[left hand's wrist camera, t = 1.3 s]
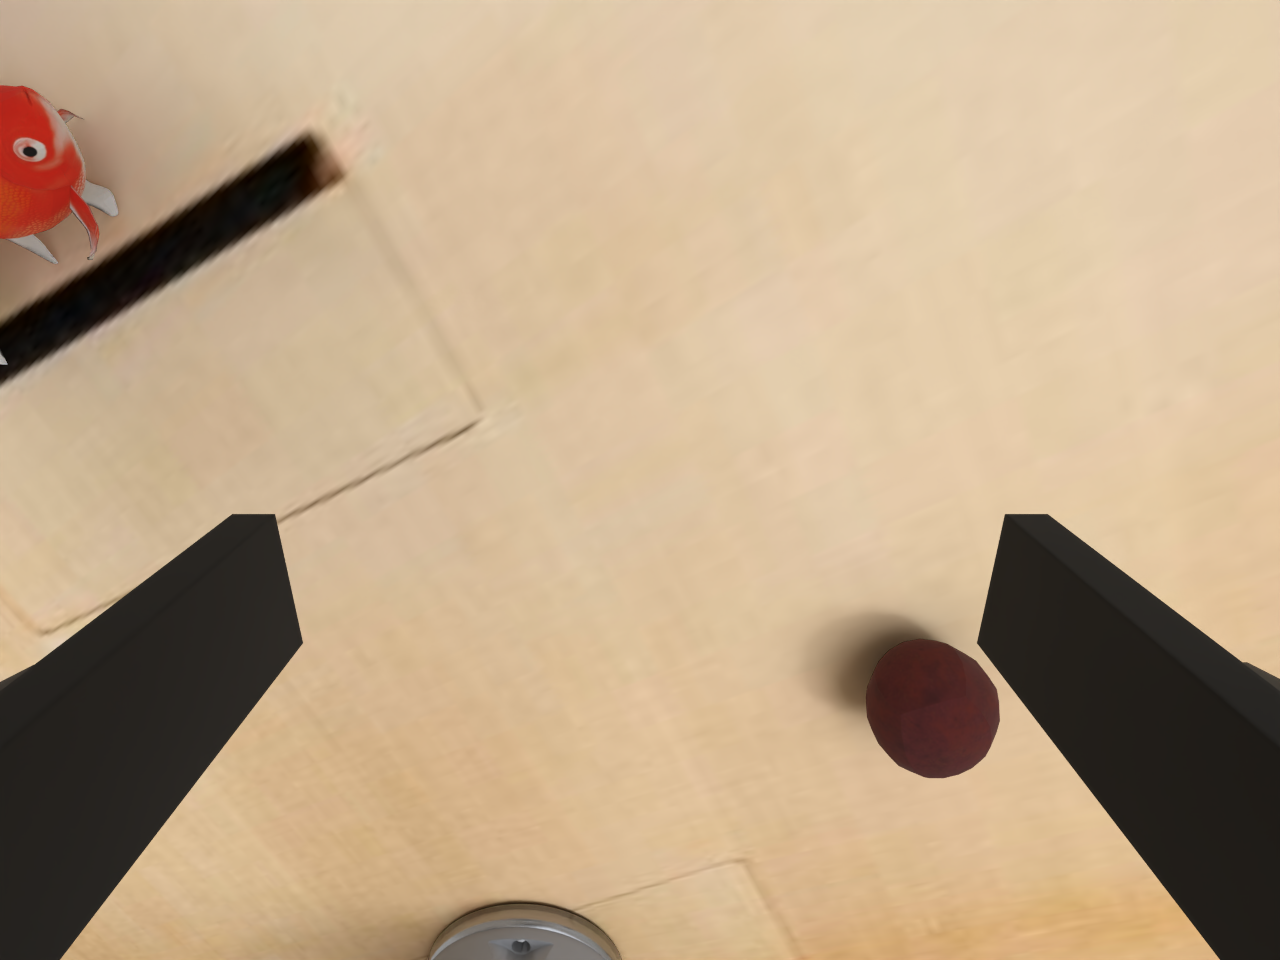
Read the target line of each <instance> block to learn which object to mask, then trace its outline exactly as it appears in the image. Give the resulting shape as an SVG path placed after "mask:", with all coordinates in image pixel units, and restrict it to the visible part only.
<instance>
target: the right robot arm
mask: <svg viewBox="0 0 1280 960" xmlns="http://www.w3.org/2000/svg"><path fill="white" fill-rule="evenodd" d="M428 960H622V959H621V956H620V954H619V952H618V950H617V948H616V947H615V945H614V944H613V942H612V941H611V940H610V939H609V937H608V936H607V935H606V934H605V933H604V932H602V931H601V930H600V929H599V928H597V927H596V926H595V925H593V924H592V923H590V922H588V921H587V920H585V919H583V918H581V917H579V916H577V915H575V914H572V913H569V912H567V911H564V910H560V909H557V908H553V907H548V906H542V905H534V904H506V905H499V906H493V907H488V908H484V909H481V910H478V911H475V912H473V913H470V914H468V915H466V916H464V917H462V918H460V919H458V920H457V921H455V922H454V923H452V924H451V925H450V926H448V927H447V928H446V929H445V930H444V931H443V932H442V933H441V934H440V935H439V937H438V938H437V940H436V941H435V943H434V944H433V947H432V949H431V952H430V955H429V959H428Z"/></svg>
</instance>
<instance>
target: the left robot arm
mask: <svg viewBox="0 0 1280 960" xmlns="http://www.w3.org/2000/svg"><path fill="white" fill-rule="evenodd" d="M302 644H303V641H302V637H301V632H300V627H299V623H298V618H297V613H296V609H295V604H294V600H293V595H292V590H291V586H290V581H289V577H288V572H287V567H286V563H285V558H284V554H283V549H282V544H281V540H280V535H279V531H278V526H277V521H276V517H275V514H232V515H231V516H229V517H228V518H227V519H225V520H224V521H223V522H222V523H220V524H219V525H218V526H216V527H215V528H214V529H212V530H211V531H210V532H208V533H207V534H206V535H204V536H203V537H202V538H200V539H199V540H198V541H197V542H195V543H194V544H193V545H191V546H190V547H189V548H187V549H186V550H185V551H183V552H182V553H181V554H179V555H178V556H177V557H176V558H174V559H173V560H172V561H170V562H169V563H168V564H166V565H165V566H164V567H162V568H161V569H160V570H158V571H157V572H156V573H155V574H153V575H152V576H151V577H149V578H148V579H147V580H145V581H144V582H143V583H141V584H140V585H139V586H137V587H136V588H135V589H133V590H132V591H131V592H130V593H128V594H127V595H126V596H124V597H123V598H122V599H120V600H119V601H118V602H116V603H115V604H114V605H112V606H111V607H110V608H109V609H107V610H106V611H105V612H103V613H102V614H101V615H99V616H98V617H97V618H95V619H94V620H93V621H91V622H90V623H89V624H88V625H86V626H85V627H84V628H82V629H81V630H80V631H78V632H77V633H76V634H74V635H73V636H72V637H70V638H69V639H68V640H66V641H65V642H64V643H63V644H61V645H60V646H59V647H57V648H56V649H55V650H53V651H52V652H51V653H49V654H48V655H47V656H45V657H44V658H43V659H42V660H40V661H39V662H38V663H36V664H35V665H33V666H31V667H29V668H27V669H25V670H23V671H21V672H19V673H17V674H15V675H13V676H11V677H9V678H7V679H5V680H3V681H1V682H0V960H60V959H61V958H62V956H63V955H64V954H65V952H66V951H67V950H68V948H69V947H70V946H71V945H72V943H73V942H74V941H75V939H76V938H77V937H78V935H79V934H80V933H81V932H82V930H83V929H84V928H85V926H86V925H87V924H88V922H89V921H90V920H91V918H92V917H93V916H94V915H95V913H96V912H97V911H98V909H99V908H100V907H101V905H102V904H103V903H104V902H105V900H106V899H107V898H108V896H109V895H110V894H111V892H112V891H113V890H114V889H115V887H116V886H117V885H118V883H119V882H120V881H121V879H122V878H123V877H124V875H125V874H126V873H127V872H128V870H129V869H130V868H131V866H132V865H133V864H134V862H135V861H136V860H137V859H138V857H139V856H140V855H141V853H142V852H143V851H144V849H145V848H146V847H147V846H148V844H149V843H150V842H151V840H152V839H153V838H154V836H155V835H156V834H157V832H158V831H159V830H160V829H161V827H162V826H163V825H164V823H165V822H166V821H167V819H168V818H169V817H170V816H171V814H172V813H173V812H174V810H175V809H176V808H177V806H178V805H179V804H180V803H181V801H182V800H183V799H184V797H185V796H186V795H187V793H188V792H189V791H190V790H191V788H192V787H193V786H194V784H195V783H196V782H197V780H198V779H199V778H200V776H201V775H202V774H203V773H204V771H205V770H206V769H207V767H208V766H209V765H210V763H211V762H212V761H213V760H214V758H215V757H216V756H217V754H218V753H219V752H220V750H221V749H222V748H223V747H224V745H225V744H226V743H227V741H228V740H229V739H230V737H231V736H232V735H233V733H234V732H235V731H236V730H237V728H238V727H239V726H240V724H241V723H242V722H243V720H244V719H245V718H246V717H247V715H248V714H249V713H250V711H251V710H252V709H253V707H254V706H255V705H256V704H257V702H258V701H259V700H260V698H261V697H262V696H263V694H264V693H265V692H266V691H267V689H268V688H269V687H270V685H271V684H272V683H273V681H274V680H275V679H276V677H277V676H278V675H279V674H280V672H281V671H282V670H283V668H284V667H285V666H286V664H287V663H288V662H289V661H290V659H291V658H292V657H293V655H294V654H295V653H296V651H297V650H298V649H299V648H300V646H301V645H302ZM977 644H978V645H979V646H980V648H981V649H982V650H983V651H984V653H985V654H986V655H987V657H988V658H989V659H990V661H991V662H992V663H993V664H994V666H995V667H996V668H997V670H998V671H999V672H1000V674H1001V675H1002V676H1003V677H1004V679H1005V680H1006V681H1007V683H1008V684H1009V685H1010V687H1011V688H1012V689H1013V691H1014V692H1015V693H1016V694H1017V696H1018V697H1019V698H1020V700H1021V701H1022V702H1023V704H1024V705H1025V706H1026V707H1027V709H1028V710H1029V711H1030V713H1031V714H1032V715H1033V717H1034V718H1035V719H1036V720H1037V722H1038V723H1039V724H1040V726H1041V727H1042V728H1043V730H1044V731H1045V732H1046V733H1047V735H1048V736H1049V737H1050V739H1051V740H1052V741H1053V743H1054V744H1055V745H1056V747H1057V748H1058V749H1059V750H1060V752H1061V753H1062V754H1063V756H1064V757H1065V758H1066V760H1067V761H1068V762H1069V763H1070V765H1071V766H1072V767H1073V769H1074V770H1075V771H1076V773H1077V774H1078V775H1079V776H1080V778H1081V779H1082V780H1083V782H1084V783H1085V784H1086V786H1087V787H1088V788H1089V790H1090V791H1091V792H1092V793H1093V795H1094V796H1095V797H1096V799H1097V800H1098V801H1099V803H1100V804H1101V805H1102V806H1103V808H1104V809H1105V810H1106V812H1107V813H1108V814H1109V816H1110V817H1111V818H1112V819H1113V821H1114V822H1115V823H1116V825H1117V826H1118V827H1119V829H1120V830H1121V831H1122V832H1123V834H1124V835H1125V836H1126V838H1127V839H1128V840H1129V842H1130V843H1131V844H1132V846H1133V847H1134V848H1135V849H1136V851H1137V852H1138V853H1139V855H1140V856H1141V857H1142V859H1143V860H1144V861H1145V862H1146V864H1147V865H1148V866H1149V868H1150V869H1151V870H1152V872H1153V873H1154V874H1155V875H1156V877H1157V878H1158V879H1159V881H1160V882H1161V883H1162V885H1163V886H1164V887H1165V889H1166V890H1167V891H1168V892H1169V894H1170V895H1171V896H1172V898H1173V899H1174V900H1175V902H1176V903H1177V904H1178V905H1179V907H1180V908H1181V909H1182V911H1183V912H1184V913H1185V915H1186V916H1187V917H1188V918H1189V920H1190V921H1191V922H1192V924H1193V925H1194V926H1195V928H1196V929H1197V930H1198V932H1199V933H1200V934H1201V935H1202V937H1203V938H1204V939H1205V941H1206V942H1207V943H1208V945H1209V946H1210V947H1211V948H1212V950H1213V951H1214V952H1215V954H1216V955H1217V956H1218V958H1219V959H1220V960H1280V679H1279V678H1277V677H1275V676H1273V675H1271V674H1269V673H1267V672H1265V671H1263V670H1261V669H1259V668H1257V667H1255V666H1253V665H1251V664H1249V663H1247V662H1241V661H1240V660H1238V659H1237V658H1236V657H1235V656H1233V655H1232V654H1231V653H1229V652H1228V651H1227V650H1225V649H1224V648H1223V647H1221V646H1220V645H1219V644H1217V643H1216V642H1215V641H1214V640H1212V639H1211V638H1210V637H1208V636H1207V635H1206V634H1204V633H1203V632H1202V631H1200V630H1199V629H1198V628H1196V627H1195V626H1194V625H1192V624H1191V623H1190V622H1189V621H1187V620H1186V619H1185V618H1183V617H1182V616H1181V615H1179V614H1178V613H1177V612H1175V611H1174V610H1173V609H1171V608H1170V607H1169V606H1168V605H1166V604H1165V603H1164V602H1162V601H1161V600H1160V599H1158V598H1157V597H1156V596H1154V595H1153V594H1152V593H1150V592H1149V591H1148V590H1147V589H1145V588H1144V587H1143V586H1141V585H1140V584H1139V583H1137V582H1136V581H1135V580H1133V579H1132V578H1131V577H1129V576H1128V575H1127V574H1125V573H1124V572H1123V571H1122V570H1120V569H1119V568H1118V567H1116V566H1115V565H1114V564H1112V563H1111V562H1110V561H1108V560H1107V559H1106V558H1104V557H1103V556H1102V555H1101V554H1099V553H1098V552H1097V551H1095V550H1094V549H1093V548H1091V547H1090V546H1089V545H1087V544H1086V543H1085V542H1083V541H1082V540H1081V539H1080V538H1078V537H1077V536H1076V535H1074V534H1073V533H1072V532H1070V531H1069V530H1068V529H1066V528H1065V527H1064V526H1062V525H1061V524H1060V523H1058V522H1057V521H1056V520H1055V519H1053V518H1052V517H1051V516H1049V515H1048V514H1005V517H1004V521H1003V526H1002V531H1001V535H1000V540H999V544H998V549H997V554H996V558H995V563H994V567H993V572H992V577H991V581H990V586H989V590H988V595H987V600H986V604H985V609H984V613H983V618H982V623H981V627H980V632H979V636H978V641H977Z"/></svg>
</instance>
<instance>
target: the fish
mask: <svg viewBox="0 0 1280 960" xmlns="http://www.w3.org/2000/svg"><path fill="white" fill-rule="evenodd" d="M74 116H76V115H74V114H73V113H71V112H69V111H67V110H63V109H60V110H59V111H56V110H55V108H54V107H53V106H52V104H51V103H50V102H49V101H47V100H46V99H45V98H44V97H42V96H41V95H40V94H38V93H37V92H35V91H34V90H32V89H30V88H27V87H24V86H17V87H14V86H5V85H0V238H2V239H7V240H9V241H11V242H13V243H15V244H18V245H20V246H22V247H24V248H26V249H28V250H30V251H31V252H33V253H35V254H37V255H39V256H41V257H43V258H44V259H46V260H48V261H50V262H52V263H54V264H57V263H58V262H57V260H56V259H55V258H54V257H53V256H52V254H51V253H50V252H49V250H48V249H47V248H46V247H45V245H44V244H43V243H42V242H41V241H40V240H39V239H38V238H37V237H36V236H34V235H33V234H36V233H39V232H43V231H46V230H48V229H51V228H53V227H54V226H55V225H57V224H58V223H60V222H61V221H62V220H64V219H65V218H66V217H68V216H69V215H70V214H71V212H73V213H74V214H75V216H76V217H77V218H78V219H79V221H80V222H81V223H82V224H83V226H84V227H85V228H86V229H87V232H88V235H89V239H90V245H91V253H90V256H89V257H87V258H88V260H92V259H93V257H94V254H95V252H96V249H97V243H98V239H99V229H98V225H97V223H96V221H95V219H94V217H93V214H92V212H91V210H90V207H89V206H88V205H91V206H93V207H96V208H98V209H100V210H101V211H103V212H105V213H106V214H108V215H110V216H117V215H118V213H119V212H118V207H117V204H116V202H115V199H114V196H113V194H112V192H111V191H110V190H109V189H107V188H105V187H102V186H99V185H95V184H93V183H90V182H89V181H88V180H86V167H85V162H84V159H83V156H82V154H81V151H80V149H79V147H78V145H77V143H76V141H75V139H74V137H73V135H72V133H71V132H70V130H69V128H68V127H67V125H66V124H65V123H66V122H68V121H69V120H70V119H71V118H73V117H74ZM76 117H78V116H76ZM78 118H81V117H78ZM81 119H83V118H81ZM0 364H6V365H8V364H7V362H6V360H5V358H4V356H3V354H2V352H1V350H0Z"/></svg>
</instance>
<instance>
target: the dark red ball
mask: <svg viewBox="0 0 1280 960" xmlns="http://www.w3.org/2000/svg"><path fill="white" fill-rule="evenodd" d="M866 707H867V718H868V721H869V723H870V726H871V729H872V731H873V733H874V735H875V737H876V739H877V741H878V744H879V745H880V746H881V747H882V748H883V749H884V751H885V752H886V753H887V754H888V755H889V756H890V757H891V758H892V759H893V760H894V762H895V763H896V764H897V765H898V766H900V767H902V768H904V769H907V770H909V771H911V772H913V773H916V774H918V775H921V776H923V777H926V778H946V777H950V776H954V775H959V774H961V773H963V772H965V771H967V770H969V769H971V768H973V767H974V766H975V765H976V764H977V763H979V762H980V761H981V760H982V759H983V758H984V757H985V756H986V754H987V752H988V751H989V749H990V747H991V744H992V742H993V739H994V737H995V735H996V732H997V729H998V725H999V722H1000V716H999V700H998V694H997V689H996V687H995V686H994V684H993V683H992V681H991V680H990V678H989V677H988V676H987V674H986V673H985V672H984V670H983V669H982V668H981V667H980V665H979V664H978V663H977V661H975V660H974V659H972V658H971V657H969V656H968V655H966V654H964V653H963V652H961V651H959V650H957V649H955V648H953V647H952V646H950V645H948V644H946V643H942V642H938V641H932V640H925V639H916V640H911V641H906V642H902V643H901V644H899V645H897V646H895V647H894V648H892V649H890V650H889V651H888V652H887V653H886V654H885V655H884V656H883V657H882V658H881V659H880V661H879V662H878V664H877V666H876V668H875V670H874V672H873V675H872V677H871V679H870V682H869V684H868V687H867V693H866Z"/></svg>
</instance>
